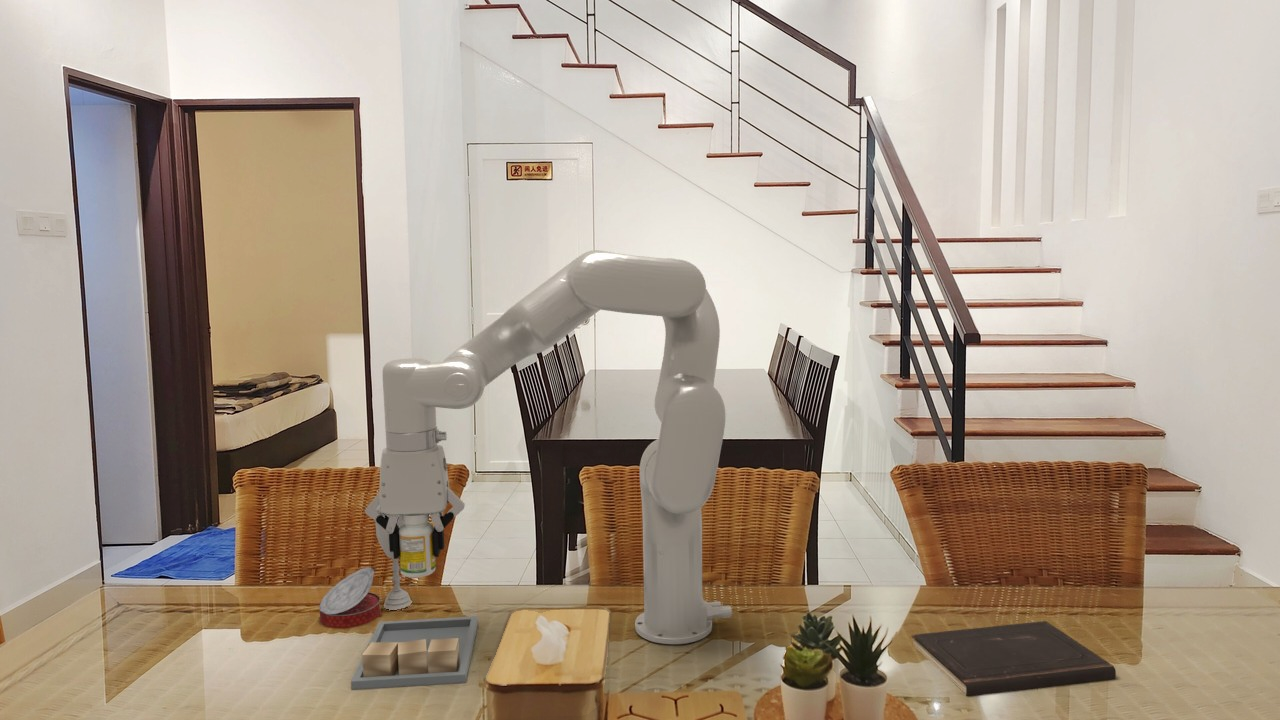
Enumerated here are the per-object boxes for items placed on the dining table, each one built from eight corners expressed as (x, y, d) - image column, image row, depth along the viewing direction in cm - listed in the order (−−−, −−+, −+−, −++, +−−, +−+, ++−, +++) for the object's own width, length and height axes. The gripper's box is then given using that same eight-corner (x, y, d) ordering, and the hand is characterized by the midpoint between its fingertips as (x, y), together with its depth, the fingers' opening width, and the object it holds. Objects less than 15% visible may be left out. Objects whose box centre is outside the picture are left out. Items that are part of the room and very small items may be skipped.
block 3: (459, 663, 132) (458, 638, 131) (456, 676, 128) (455, 650, 128) (432, 665, 132) (431, 639, 131) (428, 678, 128) (427, 651, 127)
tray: (478, 626, 146) (477, 616, 146) (465, 686, 126) (465, 674, 126) (379, 632, 145) (379, 621, 144) (351, 693, 125) (350, 681, 125)
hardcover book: (911, 648, 137) (911, 634, 136) (1045, 634, 141) (1045, 620, 140) (966, 700, 121) (967, 684, 121) (1115, 682, 125) (1116, 667, 125)
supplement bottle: (414, 581, 133) (411, 519, 132) (393, 573, 136) (390, 513, 135) (443, 570, 137) (440, 511, 136) (422, 563, 141) (419, 504, 139)
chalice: (406, 614, 151) (400, 513, 149) (369, 611, 153) (363, 511, 150) (424, 597, 158) (419, 500, 156) (390, 595, 160) (384, 499, 157)
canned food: (373, 652, 148) (366, 614, 142) (313, 646, 148) (304, 608, 142) (392, 598, 157) (387, 560, 151) (336, 593, 157) (328, 555, 151)
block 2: (427, 664, 132) (425, 639, 131) (427, 676, 128) (426, 650, 128) (399, 668, 131) (398, 642, 130) (399, 680, 127) (397, 654, 127)
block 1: (399, 667, 131) (398, 642, 130) (391, 681, 127) (389, 654, 126) (373, 667, 131) (371, 642, 131) (363, 681, 127) (362, 654, 127)
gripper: (471, 433, 138) (475, 544, 141) (359, 437, 137) (366, 549, 139) (466, 443, 131) (471, 560, 133) (348, 448, 130) (355, 566, 132)
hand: (417, 553), depth 136 cm, fingers closed on supplement bottle, 5 cm apart
